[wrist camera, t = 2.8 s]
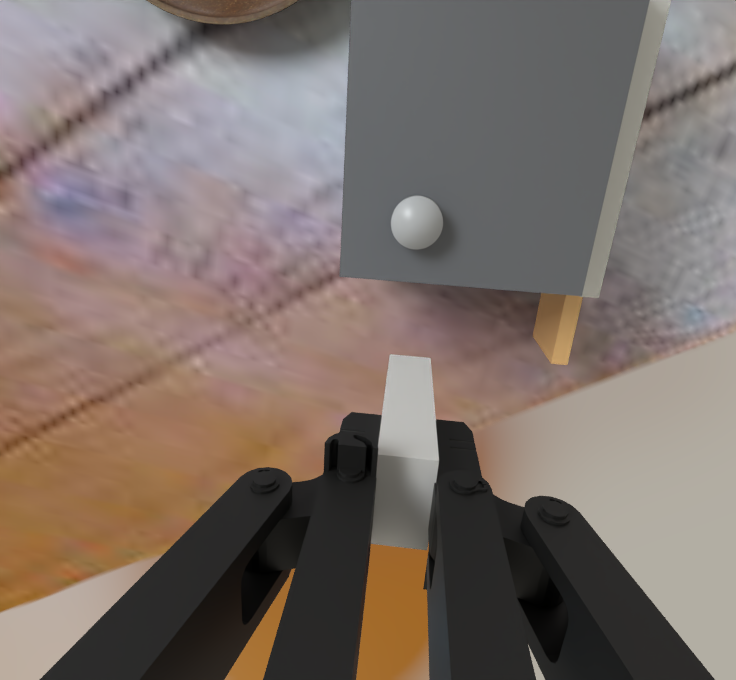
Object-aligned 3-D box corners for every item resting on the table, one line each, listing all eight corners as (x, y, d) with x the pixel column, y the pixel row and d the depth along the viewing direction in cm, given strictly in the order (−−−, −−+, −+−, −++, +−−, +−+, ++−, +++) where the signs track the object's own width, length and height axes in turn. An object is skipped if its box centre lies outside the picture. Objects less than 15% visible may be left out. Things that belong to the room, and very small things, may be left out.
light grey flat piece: (592, 4, 23) (659, -53, 17) (613, 5, 23) (688, -51, 16) (528, 332, 29) (560, 380, 22) (545, 333, 29) (582, 382, 22)
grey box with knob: (374, -31, 23) (353, -132, 15) (587, -21, 22) (687, -122, 14) (358, 249, 28) (336, 287, 20) (534, 263, 27) (585, 308, 19)
